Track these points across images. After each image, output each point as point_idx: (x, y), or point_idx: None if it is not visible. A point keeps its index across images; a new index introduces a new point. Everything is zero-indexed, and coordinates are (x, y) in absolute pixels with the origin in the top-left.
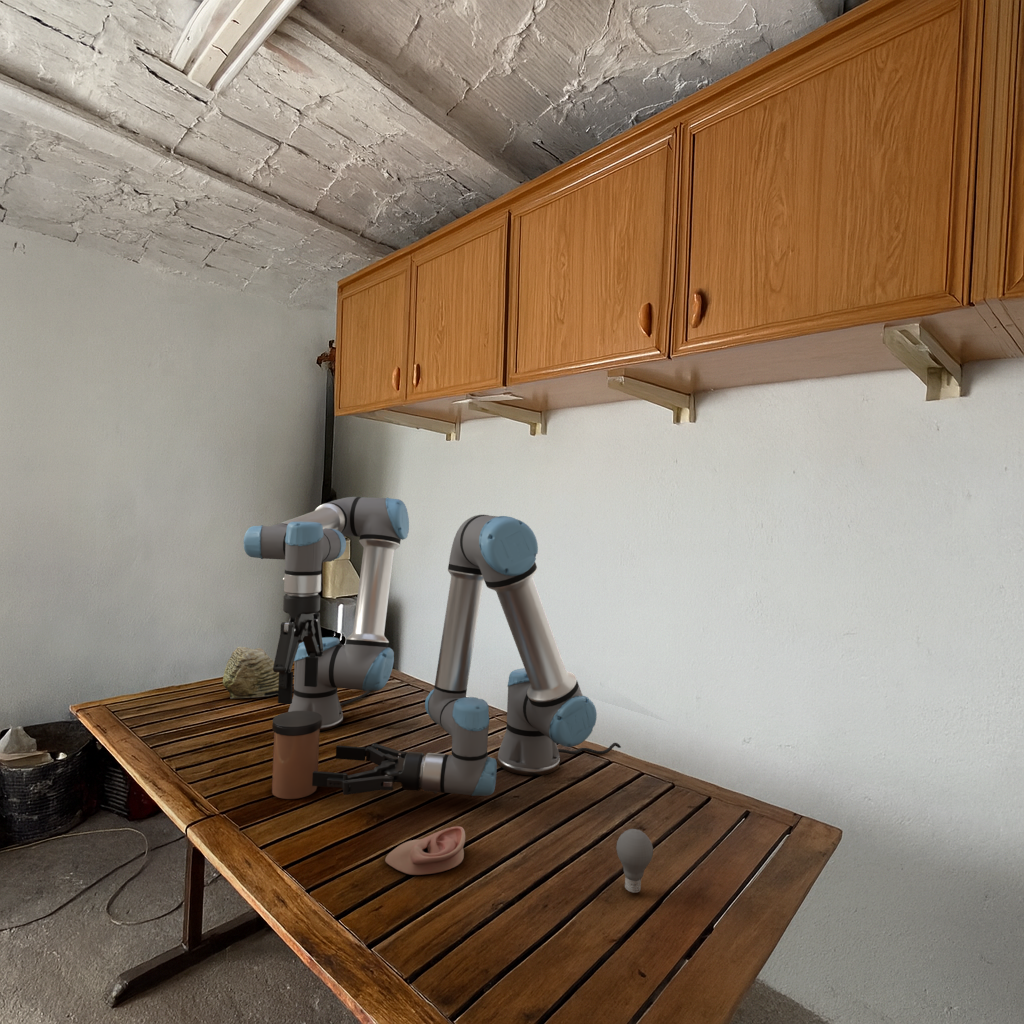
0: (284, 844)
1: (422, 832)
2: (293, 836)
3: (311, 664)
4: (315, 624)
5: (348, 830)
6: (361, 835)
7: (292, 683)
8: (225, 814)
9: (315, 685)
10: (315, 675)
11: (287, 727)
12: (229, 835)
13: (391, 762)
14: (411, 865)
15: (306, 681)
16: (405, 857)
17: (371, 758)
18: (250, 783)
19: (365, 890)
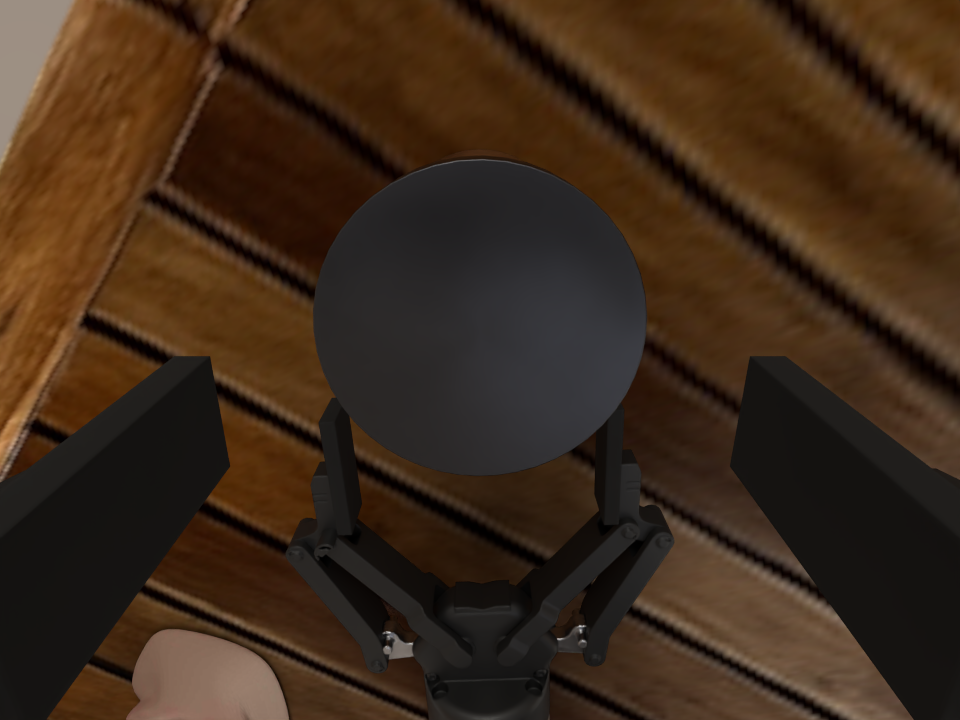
0: (131, 375)
1: (322, 664)
2: None
3: (882, 582)
4: None
5: (268, 508)
6: (256, 545)
7: (125, 599)
8: (217, 74)
9: (735, 472)
10: (786, 533)
11: (316, 339)
12: (100, 180)
13: (465, 658)
14: (140, 695)
15: (770, 398)
16: (154, 684)
17: (589, 529)
18: (490, 20)
19: None
